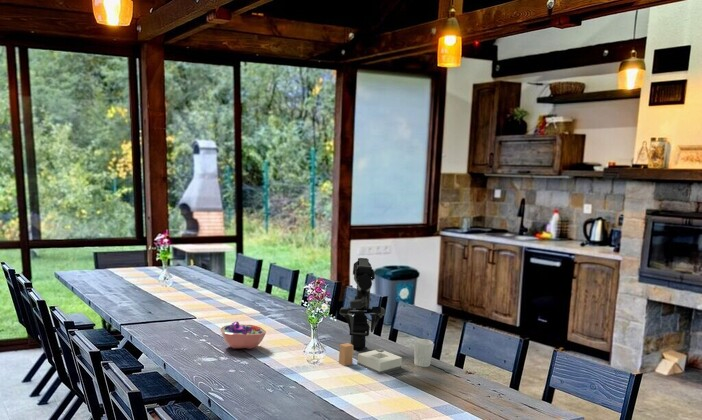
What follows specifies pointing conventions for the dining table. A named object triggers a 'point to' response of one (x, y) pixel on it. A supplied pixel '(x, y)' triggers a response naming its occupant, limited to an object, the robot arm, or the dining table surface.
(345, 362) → the plug
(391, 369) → the socket plate
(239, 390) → the dining table surface
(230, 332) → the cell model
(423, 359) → the white cup
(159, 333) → the dining table surface
